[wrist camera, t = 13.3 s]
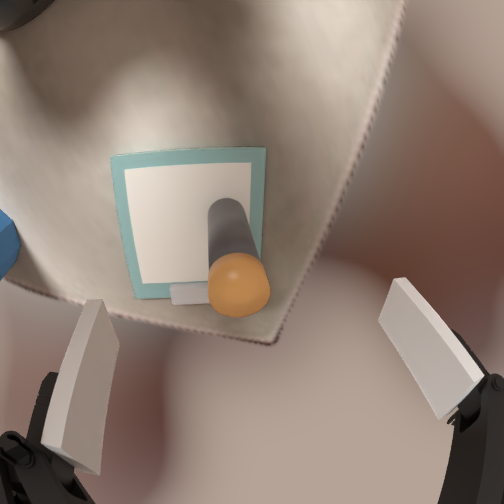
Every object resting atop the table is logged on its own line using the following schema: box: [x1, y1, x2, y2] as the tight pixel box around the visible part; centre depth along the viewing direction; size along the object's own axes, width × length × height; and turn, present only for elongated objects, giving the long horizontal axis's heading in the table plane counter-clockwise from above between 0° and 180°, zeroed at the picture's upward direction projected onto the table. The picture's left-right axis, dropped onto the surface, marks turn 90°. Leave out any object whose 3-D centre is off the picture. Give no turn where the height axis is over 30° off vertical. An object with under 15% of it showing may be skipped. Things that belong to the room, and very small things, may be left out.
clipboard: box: [110, 147, 266, 305], centre depth 30 cm, size 18×16×2 cm
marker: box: [208, 198, 270, 317], centre depth 24 cm, size 4×4×13 cm
